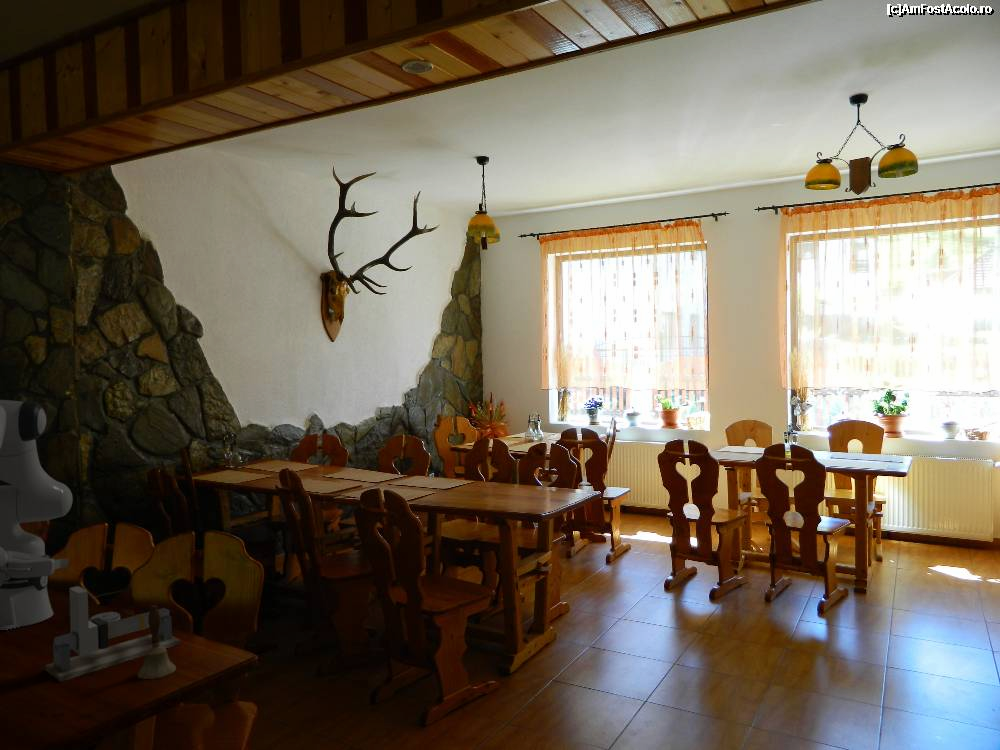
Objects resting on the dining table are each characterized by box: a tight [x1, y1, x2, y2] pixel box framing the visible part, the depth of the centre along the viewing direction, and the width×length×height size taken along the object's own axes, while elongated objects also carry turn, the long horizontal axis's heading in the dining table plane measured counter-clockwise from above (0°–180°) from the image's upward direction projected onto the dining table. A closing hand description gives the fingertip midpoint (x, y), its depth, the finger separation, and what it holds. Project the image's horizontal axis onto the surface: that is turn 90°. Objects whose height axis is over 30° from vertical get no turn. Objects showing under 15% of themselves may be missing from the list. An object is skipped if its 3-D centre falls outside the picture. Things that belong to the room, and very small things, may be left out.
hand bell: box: [137, 604, 177, 680], centre depth 172 cm, size 8×8×16 cm
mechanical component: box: [88, 611, 121, 623], centre depth 199 cm, size 10×4×10 cm
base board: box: [45, 633, 181, 683], centre depth 181 cm, size 28×10×1 cm, turn 139°
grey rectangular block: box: [68, 585, 99, 656], centre depth 176 cm, size 4×6×15 cm, turn 49°
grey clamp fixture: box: [52, 607, 173, 672], centre depth 181 cm, size 26×5×7 cm, turn 139°
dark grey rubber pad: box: [91, 618, 109, 649], centre depth 179 cm, size 2×6×6 cm, turn 49°
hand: (58, 560), depth 171 cm, fingers open, 8 cm apart
